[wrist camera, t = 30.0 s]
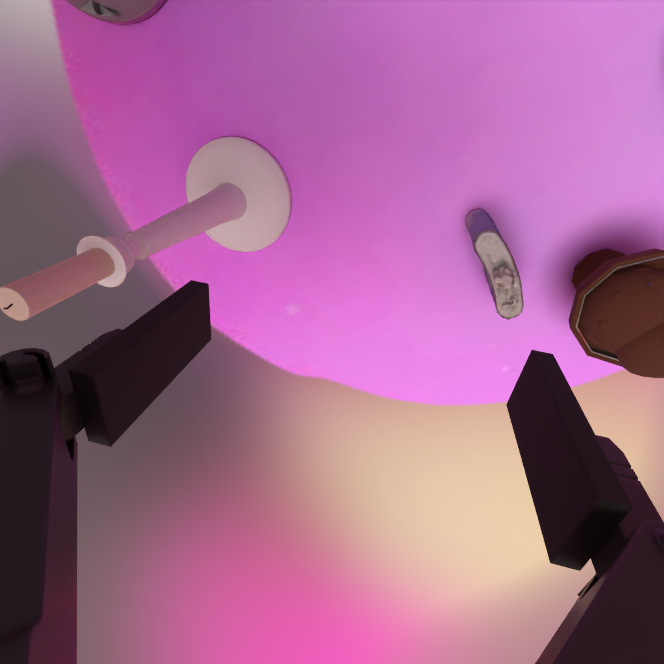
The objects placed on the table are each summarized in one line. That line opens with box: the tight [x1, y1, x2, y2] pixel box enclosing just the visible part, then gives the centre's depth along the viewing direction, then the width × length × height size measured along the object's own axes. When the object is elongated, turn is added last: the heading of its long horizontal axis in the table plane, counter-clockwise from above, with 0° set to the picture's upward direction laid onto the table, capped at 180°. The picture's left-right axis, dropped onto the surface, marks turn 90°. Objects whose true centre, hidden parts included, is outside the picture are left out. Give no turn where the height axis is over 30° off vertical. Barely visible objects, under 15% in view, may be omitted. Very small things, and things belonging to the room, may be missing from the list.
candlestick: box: [0, 137, 291, 321], centre depth 33 cm, size 13×13×30 cm
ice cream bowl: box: [569, 249, 664, 378], centre depth 35 cm, size 11×11×15 cm
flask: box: [465, 209, 523, 319], centre depth 38 cm, size 9×3×11 cm, turn 28°
